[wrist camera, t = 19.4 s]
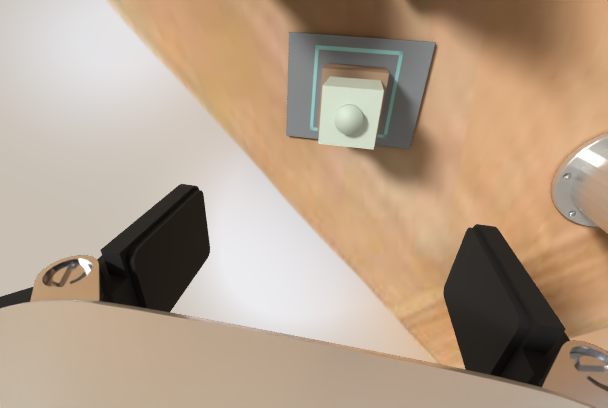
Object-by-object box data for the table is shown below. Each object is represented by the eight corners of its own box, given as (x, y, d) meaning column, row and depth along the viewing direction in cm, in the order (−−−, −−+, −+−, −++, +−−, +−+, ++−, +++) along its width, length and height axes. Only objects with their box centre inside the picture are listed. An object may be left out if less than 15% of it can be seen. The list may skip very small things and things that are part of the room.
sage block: (380, 80, 30) (384, 91, 24) (372, 130, 32) (373, 152, 26) (329, 76, 30) (321, 86, 24) (325, 126, 33) (317, 146, 27)
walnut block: (385, 67, 34) (389, 73, 29) (375, 124, 38) (377, 138, 32) (328, 62, 35) (322, 67, 30) (323, 119, 38) (317, 132, 33)
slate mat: (434, 41, 33) (435, 42, 32) (408, 147, 39) (409, 149, 38) (290, 32, 35) (289, 32, 34) (287, 134, 41) (286, 135, 40)
